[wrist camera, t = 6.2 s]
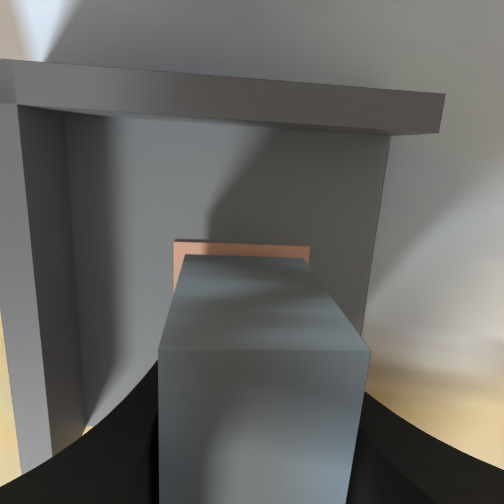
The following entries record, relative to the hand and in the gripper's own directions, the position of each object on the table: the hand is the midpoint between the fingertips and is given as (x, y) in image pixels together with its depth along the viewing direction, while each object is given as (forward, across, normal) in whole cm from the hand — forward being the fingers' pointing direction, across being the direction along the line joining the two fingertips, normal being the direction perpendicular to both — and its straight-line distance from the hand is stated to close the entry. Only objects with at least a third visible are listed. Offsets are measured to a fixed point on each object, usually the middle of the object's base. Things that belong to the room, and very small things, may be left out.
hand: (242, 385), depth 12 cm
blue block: (+2, 0, 0) cm, 2 cm away
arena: (+3, +1, -2) cm, 4 cm away
